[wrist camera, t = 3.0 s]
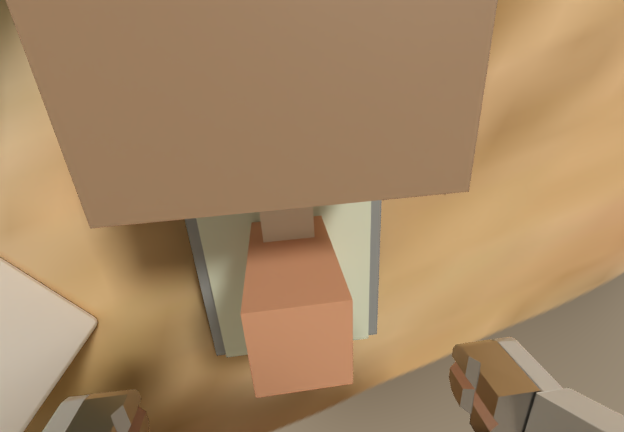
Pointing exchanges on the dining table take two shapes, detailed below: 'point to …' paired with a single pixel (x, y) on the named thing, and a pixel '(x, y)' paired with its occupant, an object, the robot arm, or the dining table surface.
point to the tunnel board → (260, 119)
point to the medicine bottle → (34, 344)
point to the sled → (295, 306)
